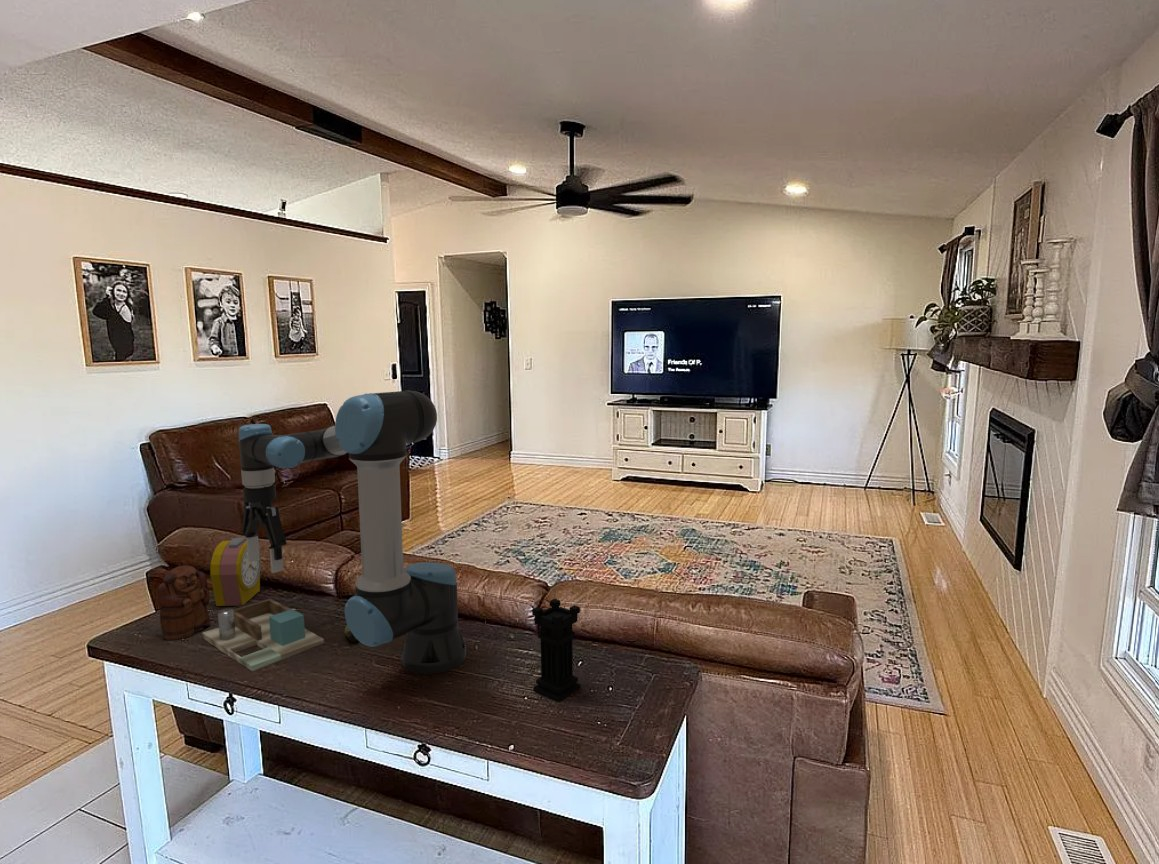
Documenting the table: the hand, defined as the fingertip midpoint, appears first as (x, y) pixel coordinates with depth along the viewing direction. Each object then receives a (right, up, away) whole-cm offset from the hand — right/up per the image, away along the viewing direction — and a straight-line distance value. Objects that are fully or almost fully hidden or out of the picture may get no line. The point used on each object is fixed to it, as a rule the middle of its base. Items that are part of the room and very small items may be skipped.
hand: (265, 566), depth 171 cm
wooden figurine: (-22, -18, +4) cm, 29 cm away
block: (+7, -18, -4) cm, 19 cm away
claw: (+24, -19, +7) cm, 31 cm away
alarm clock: (-20, -15, +26) cm, 37 cm away
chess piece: (+77, -22, -28) cm, 85 cm away
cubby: (-2, -16, +4) cm, 17 cm away
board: (0, -19, -2) cm, 19 cm away
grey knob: (-8, -18, -3) cm, 20 cm away
